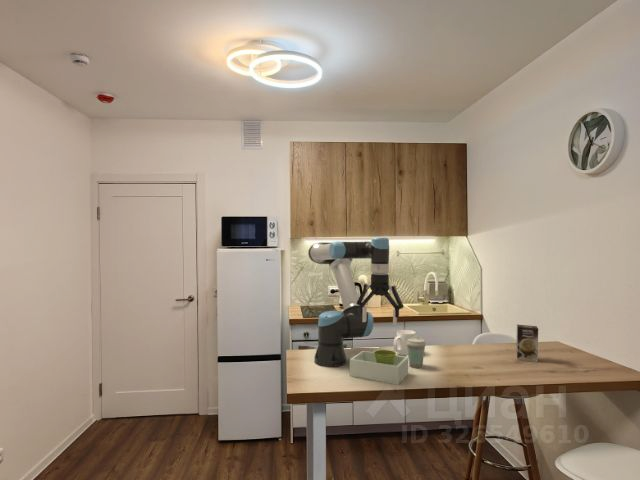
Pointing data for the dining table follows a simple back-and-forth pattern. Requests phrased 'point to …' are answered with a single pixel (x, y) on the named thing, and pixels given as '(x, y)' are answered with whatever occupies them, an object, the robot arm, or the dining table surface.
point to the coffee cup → (416, 352)
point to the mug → (403, 341)
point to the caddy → (378, 368)
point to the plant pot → (385, 356)
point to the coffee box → (527, 343)
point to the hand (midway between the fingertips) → (379, 323)
